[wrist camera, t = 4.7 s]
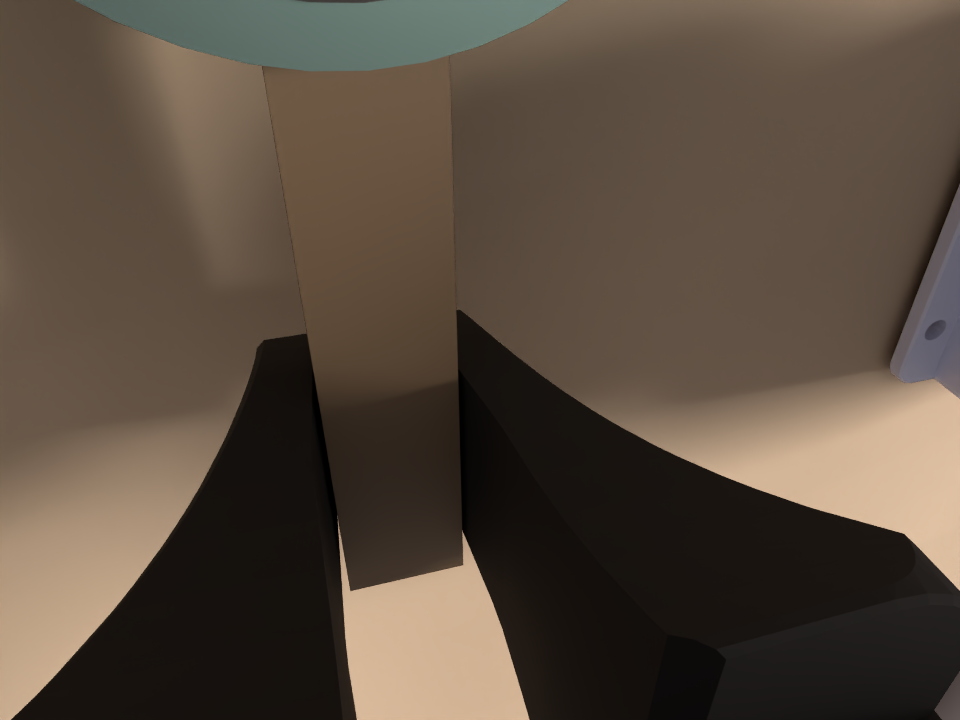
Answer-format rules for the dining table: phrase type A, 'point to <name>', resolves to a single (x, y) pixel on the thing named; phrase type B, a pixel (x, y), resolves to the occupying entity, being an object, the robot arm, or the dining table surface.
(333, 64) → the pot
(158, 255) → the dining table surface
